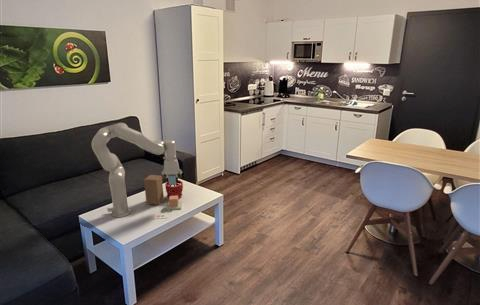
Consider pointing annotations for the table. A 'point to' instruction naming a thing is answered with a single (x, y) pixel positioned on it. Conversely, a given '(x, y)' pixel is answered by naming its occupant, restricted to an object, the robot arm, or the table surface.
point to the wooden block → (154, 189)
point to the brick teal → (172, 179)
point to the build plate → (174, 207)
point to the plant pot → (174, 189)
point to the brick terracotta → (173, 201)
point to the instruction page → (160, 216)
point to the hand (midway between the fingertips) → (172, 182)
